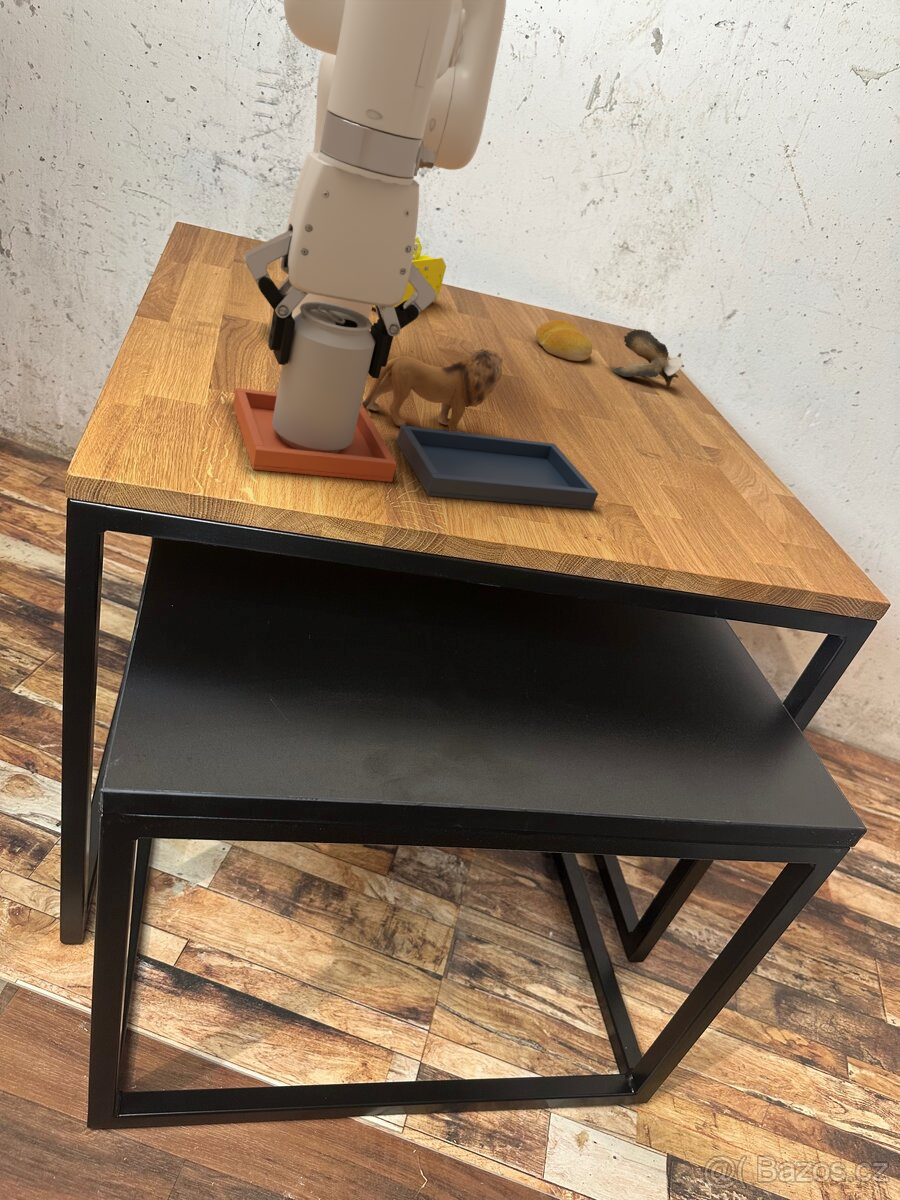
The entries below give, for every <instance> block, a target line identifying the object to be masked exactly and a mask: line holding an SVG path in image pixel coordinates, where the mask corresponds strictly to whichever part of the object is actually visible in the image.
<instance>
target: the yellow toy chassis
mask: <svg viewBox="0 0 900 1200" xmlns="http://www.w3.org/2000/svg"><path fill="white" fill-rule="evenodd" d="M422 250H423V247H422V244H421V241H420V238H419V237H417V236H416V238H415V246H414V252H413V258H412V263H413V264H414V265H415V267H416V268H417V269H418V270H419V272H420V273H421V274H422V275H423V277H424V278H425V279H426V280H427V282H428V283H429V284H430V285H431V287H432V288H433V289H434V290H435V292H436V293H437V297H436V299H435V300H437V299H439V295H440V292H441V288H442V285H443V280H444V278H445V277H444V276H445V273H446V268H447V265H446V262H445V260H444V258H443V257H435V258H433V257H431V256H429V255H426V254H422V255H421V253H422ZM413 293H414V288H413V286H412V285H411V284H410V283H409V281H408V283H407V287H406V291H405V294H404V297H403V299H402V301H401V302H400V303H399V304H397V305H394V308H395V307H397V306H398V305H400V304H401V303H402V302H404V301H406V300H408V299H410V297H411V296H412V295H413ZM372 309H375V306H374V305H373V306H372Z"/></svg>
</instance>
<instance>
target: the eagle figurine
mask: <svg viewBox="0 0 900 1200" xmlns="http://www.w3.org/2000/svg"><path fill="white" fill-rule="evenodd" d="M623 338H624V339H623V341H624V343H625V344H624V346H625V347H626V348H628V349H629V351H631V352H633V353H635V354H636V355H637V356H638V357H641V358H643V359H645V360H646V361H647V362H648V363H647V362H646V363H644V362H643V363H630V364H628V365H626V366H618V367H615V368H613V369H612V372H613V373H614V374H617V375H618V376H621V377H627V378H632V377H633V378H634V377H639V376H641V377H648V378H656V377H658V376H659V375H660V376H661V377H662V378H663V379H664V381H665V387H667V389H669V388H670V387H671V383H672V380H673V379H674V378H676V379H678V378H679V375H678V374H677V373H678V372H679V371H680V370H681V368H684V367H685V364H683V362H684V361H683V359H682V353H681V352H680V353H678V355H676V356H675V357H671V358H670V359H668V358H669V350H668V347H667V346H666V344H665V343H663V342H660V341H659V340H658V338H656V337H655V336H654V335H653V334H652V332H651V331H649V330H645V329H636V328H634V329H633V330H630V331H629V332H627V333H626V334H625V335H624V336H623Z"/></svg>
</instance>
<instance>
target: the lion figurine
mask: <svg viewBox="0 0 900 1200" xmlns="http://www.w3.org/2000/svg"><path fill="white" fill-rule="evenodd" d="M503 361H504V357H502V356H500V353H498V352H497V351H495V350H494V349H492V348H490V347H486V346H483V347H481V348H480V347H479V348H476V349H472V350H471V351H470V355H469V356H466V357H465V358H462V359H460V360H459V361H457V362H455V363H453V364H452V363H451V365H449V366H445V367H441V366H435V365H431V364H427V363H425V362H423V361H421V360H420V359H417V358H416V357H413V356H409V355H401V356H396V357H393V358H391V359H389V360H388V361H387V365H386V366H385V367H381V371H380V376H379V378H378V379H377V378H374V381H373V383H372V385H371V387H370V390H369V392H368V394H367V396H366V398H365V399H364V401H362V403H361V404H363V406H364V408H365V409H366V408H367V409H369V410H371V411H375V412H376V411H379V410H380V405H379V404H378V403H377V402H376V400H377V399H378V398H379V397H380V396H382V395H385V394H387V393H389V392H392V401H391V403H390V405H389V408H388V409H389V411H390V415H391V418H392V420H393V423H394V425H395V426H397V427H399V428H400V427H401V425H404V426H407V421H406V419H405V418H404V419H403V418H402V417H401V415H400V409H401V407H402V405H403V404H404V403H405V401H406V400H407V399H408V397H409V396H410V394H411V391H413V392H414V393H415V394H416V395H417V396H418V397H419V398H421V399H423V400H425V401H427V402H431V403H435V404H441V408H440V411H439V414H438V419H437V420H438V422H439V424H441V425H445V426H447V427H448V431H454V432H461V430H460V429H458V425H459V423H460V422H461V420H462V418H463V415H464V413H465V410H466V408H470V407H473V408H474V407H477V406H478V405H481V404H482V403H483V402H484V401H485V400H486V398H487V397H488V396H489V395H490V394H491V393H492V392H493V391H494V390H495V387H496V385H497V383H499V381H500V379H501V377H502V375H503V370H502V369H503V368H502V365H503ZM450 411H451V413H450ZM449 414H450V418H449Z"/></svg>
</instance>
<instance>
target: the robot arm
mask: <svg viewBox="0 0 900 1200" xmlns="http://www.w3.org/2000/svg"><path fill="white" fill-rule="evenodd" d="M506 8H507V0H283V9H284V16H285V21H286V24H287V26H288V27H289V30H290V32H291V33H292V34H293V36H294V37H295V38H296V39H297V40H298V41H299V42H300V43H302V44H304V45H305V46H307V47H309V48H312V49H315V50H318V51H321V52H323V54H322V57H321V59H320V63H319V67H318V74H317V85H316V113H315V114H316V115H315V129H314V130H315V131H314V142H313V143H314V144H313V152H312V151H310V152H309V151H308V152H307V154H306V157H305V159H304V162H303V165H302V167H301V171H300V174H299V177H298V180H297V182H296V183H297V184H296V187H295V191H294V194H293V197H292V201H291V206H290V209H289V214H288V217H287V222H286V227H285V231H284V233H281V234H279V235H277V236H275V237H273V238H271V239H269V240H267V241H265V242H263V243H261V244H259V245H257V246H255V247H253V248H251V249H249V250H247V251H245V252H244V254H243V260H244V262H245V264H246V266H247V268H248V270H249V272H250V274H251V276H252V278H253V280H254V282H255V283H256V285H257V287H258V289H259V291H260V292H261V294H262V295H263V297H264V298H265V300H266V301H267V302H268V304H269V305H270V307H271V308H272V309H273V312H272V317H271V322H270V328H269V336H268V347H269V350H270V351H272V352H273V355H274V358H275V359H276V362H277V363H278V365H280V366H282V365H285V364H288V359H289V354H290V348H291V342H292V337H293V331H294V325H295V321H294V319H293V317H295V316H296V315H298V314H299V313H301V310H300V306H301V305H302V304H304V303H307V302H326V303H331V304H336V305H340V306H343V307H347V308H349V309H352V310H354V311H357V312H359V313H360V314H362V315H364V316H365V317H367V318H368V319H369V320H370V319H371V314H372V311H373V310H372V309H373V308H372V306H373V305H374V306H375V308H374V310H375V311H376V315H377V318H378V319H377V321H376V322H373V324H372V327H371V329H369V331H370V333H371V335H372V337H373V339H374V340H375V346H374V351H373V355H372V359H371V364H370V368H369V372H368V376H370V377H371V378H372V379H376V378H377V379H378V378H379V376H380V371H381V369H382V367H385V366H386V365H387V362H388V361H389V357H390V353H391V348H392V345H393V344H392V343H393V340H394V337H397V336H399V334H400V333H401V330H402V329H404V328H405V327H407V326H408V325H409V324H411V323H412V322H414V321H415V320H416V319H418V317H419V316H420V313H422V312H424V311H425V310H426V308H428V307H429V306H430V305H431V304H432V303H433V302H434V301H435V300H437V299H436V297H437V293H436V292H435V290H434V289H433V288H432V287H431V285H430V284H429V283H428V282H427V280H426V279H425V278H424V277H423V275H422V274H421V273H420V272H419V270H418V269H417V268H416V267H415V265H414V264H413V263H412V258H413V252H414V246H415V238H416V237H417V230H418V218H419V207H420V184H419V182H417V181H416V180H415V179H414V178H415V177H417V176H418V172H419V171H420V169H424V168H426V169H431V170H432V169H433V168H434V167H435V168H436V167H437V168H440V169H443V170H444V169H445V170H452V171H453V170H454V171H456V170H461V169H463V168H465V167H466V166H468V165H469V164H470V162H471V161H472V159H473V158H474V157H475V155H476V152H477V149H478V146H479V144H480V141H481V137H482V133H483V130H484V129H483V128H484V126H485V125H484V124H485V119H486V117H487V116H486V115H487V112H488V111H487V110H488V105H489V99H490V93H491V89H492V86H493V85H492V84H493V79H494V74H495V68H496V64H497V58H498V53H499V48H500V44H501V43H500V42H501V38H502V32H503V28H504V21H505V15H506ZM278 260H279V265H280V268H281V270H282V271H283V272H284V273H285V274H286V275H287V277H286V278H285V279H284V280H283V281H282V282H281V284H280V285H279V286H277V285H276V284H275V283H274V281H273V279H272V278H271V276H270V274H269V272H268V269H267V267H268V265H269V264H272V263H273V262H275V261H278ZM408 281H409V283H410V284H411V285H412V286H413V288H414V293H413V295H412V296H411V297H410V299H408V300H406V301H404V302H402V303H401V304H400V305H398V306H397V307H394V305H397V304H399V303H400V302H401V301H402V299H403V297H404V294H405V291H406V287H407V283H408Z"/></svg>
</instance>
